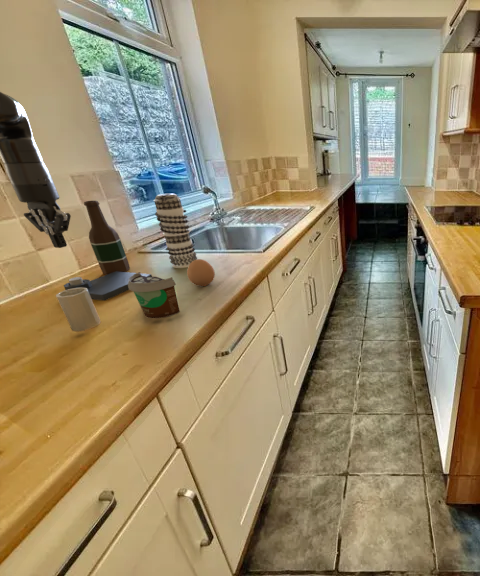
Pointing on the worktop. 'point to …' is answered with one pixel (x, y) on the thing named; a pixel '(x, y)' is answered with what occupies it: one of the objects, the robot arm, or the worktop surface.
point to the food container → (154, 295)
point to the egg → (200, 272)
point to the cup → (78, 309)
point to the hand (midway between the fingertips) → (61, 247)
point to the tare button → (76, 281)
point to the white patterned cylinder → (175, 230)
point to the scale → (106, 285)
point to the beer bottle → (105, 242)
